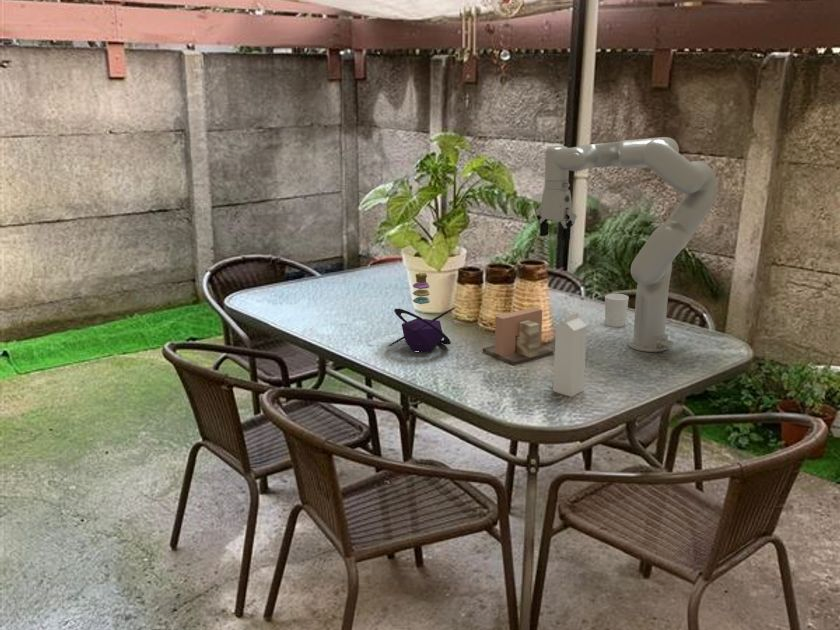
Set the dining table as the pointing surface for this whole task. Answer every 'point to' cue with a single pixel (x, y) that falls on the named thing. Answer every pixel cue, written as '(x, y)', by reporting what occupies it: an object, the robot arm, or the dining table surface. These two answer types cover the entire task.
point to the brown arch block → (514, 329)
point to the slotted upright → (523, 345)
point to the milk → (570, 356)
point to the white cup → (616, 309)
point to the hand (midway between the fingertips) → (554, 237)
